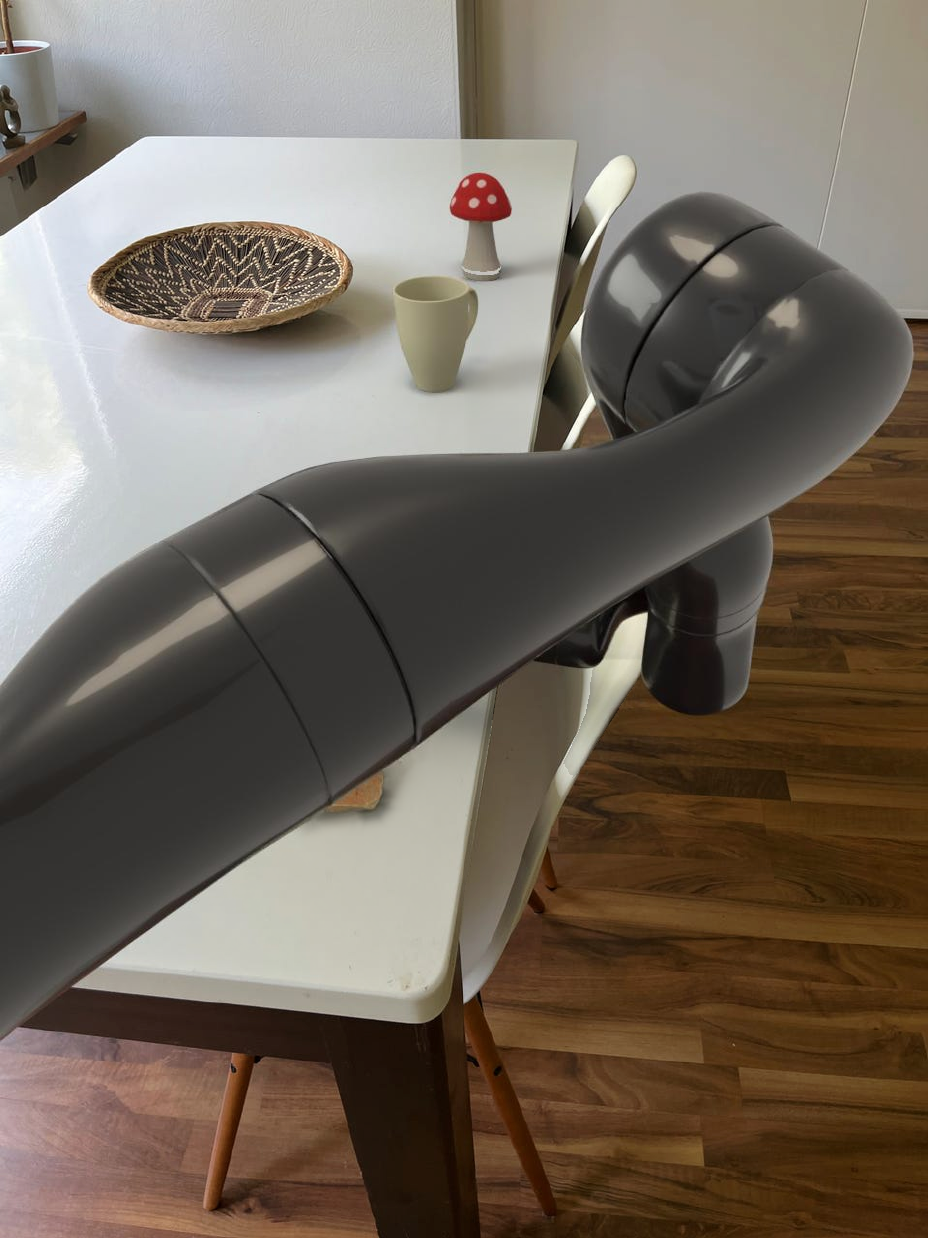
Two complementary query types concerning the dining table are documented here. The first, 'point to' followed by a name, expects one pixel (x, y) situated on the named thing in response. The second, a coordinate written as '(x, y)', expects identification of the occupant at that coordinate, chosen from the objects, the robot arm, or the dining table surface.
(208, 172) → the dining table surface
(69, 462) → the dining table surface
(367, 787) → the pottery shard
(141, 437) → the dining table surface
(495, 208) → the decorative mushroom
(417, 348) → the mug
